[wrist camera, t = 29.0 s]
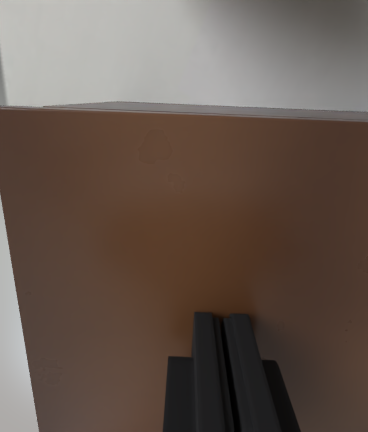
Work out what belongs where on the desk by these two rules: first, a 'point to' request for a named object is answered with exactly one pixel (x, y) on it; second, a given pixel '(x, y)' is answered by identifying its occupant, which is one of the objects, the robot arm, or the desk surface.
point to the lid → (185, 255)
